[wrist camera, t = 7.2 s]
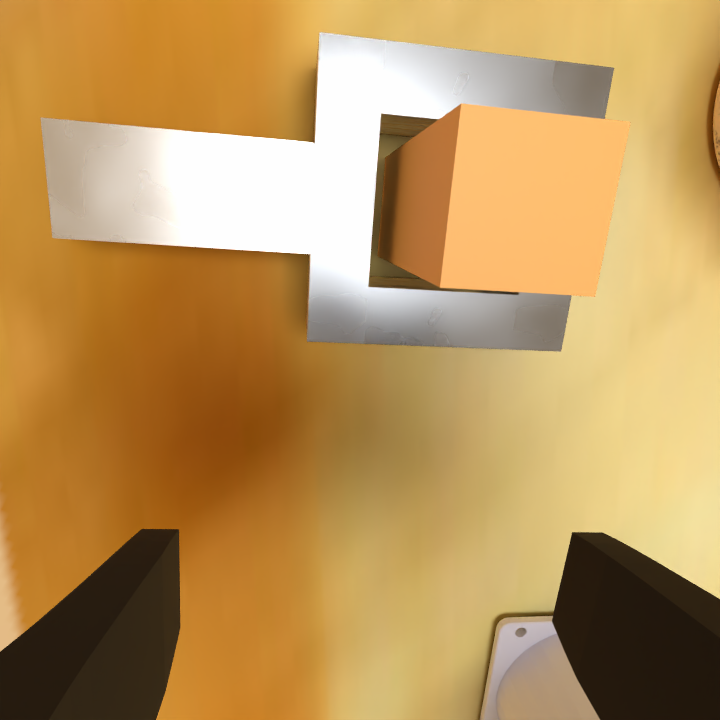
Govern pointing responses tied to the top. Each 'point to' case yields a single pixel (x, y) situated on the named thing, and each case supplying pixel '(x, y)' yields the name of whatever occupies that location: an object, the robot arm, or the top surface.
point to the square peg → (503, 200)
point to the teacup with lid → (717, 125)
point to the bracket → (322, 188)
